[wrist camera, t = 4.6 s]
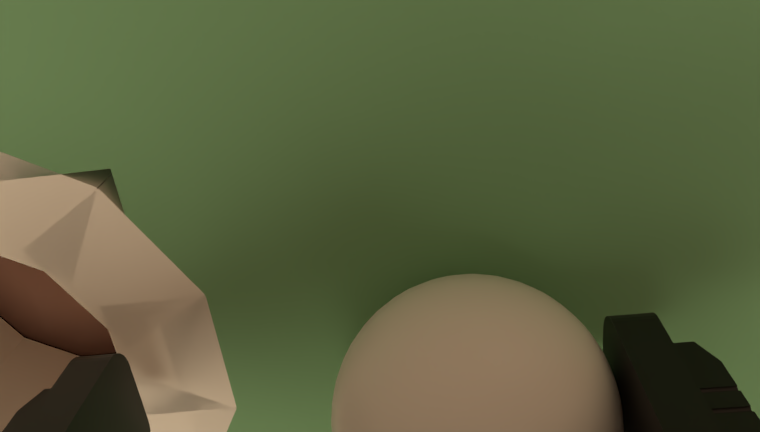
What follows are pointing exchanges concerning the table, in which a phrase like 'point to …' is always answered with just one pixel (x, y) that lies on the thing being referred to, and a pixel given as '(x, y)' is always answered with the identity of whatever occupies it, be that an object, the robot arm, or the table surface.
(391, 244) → the green flat block
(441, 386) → the ball
